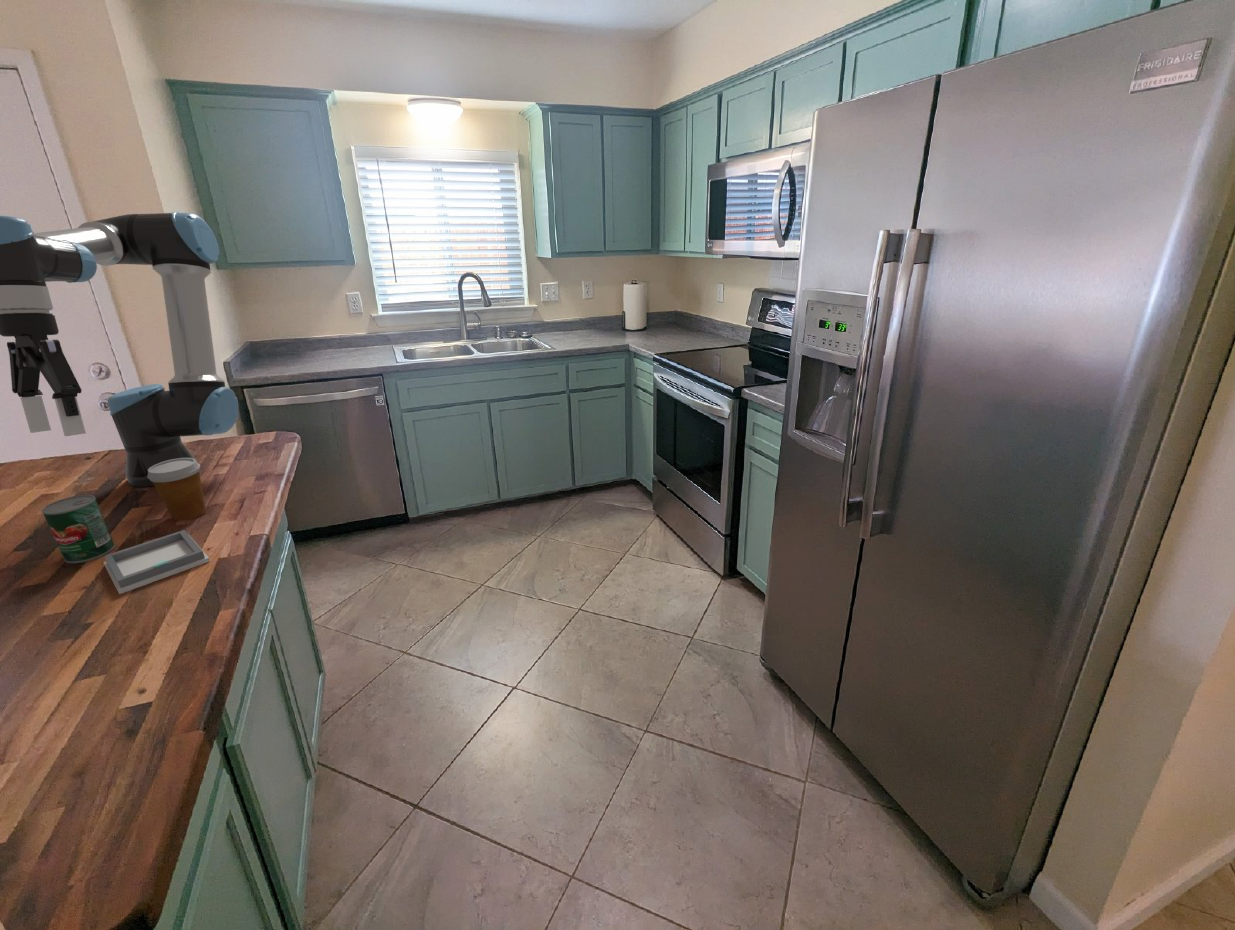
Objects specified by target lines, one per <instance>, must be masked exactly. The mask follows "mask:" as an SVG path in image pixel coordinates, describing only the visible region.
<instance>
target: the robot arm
mask: <svg viewBox="0 0 1235 930" xmlns="http://www.w3.org/2000/svg"><path fill="white" fill-rule="evenodd" d="M219 257H220V248H219V244H218V241H217V238H216V236H215V233H214V232H213V230H212V229H211V227H210V226H209V224H208V223H207V222H206V221H205V220H204V219H203V218H202V217H200V216H199V215H197V214H195V213H193V212H178V211H173V212H162V213H159V212H158V213H129V214H128V213H127V214H124V215H122V214H121V215H118V216H112V217H109V218H103V219H97V220H93V221H86V222H83V223H81V224H80V225H79V226H78V227H76V228H68V229H67V228H66V229H59V230H52V231H51V230H50V231H43V232H34V231H33V229H32V227H31V224H30V223H29V222H28V221H27V220H25V219H24V218H21V217H16V216H10V215H9V216H8V215H0V336H1V337H5V338H6V337H8V338H9V337H10V338H12V337H14V340H15V341H7V342H6V347H7V350H8V355H9V366H10V379H11V390H12V392H13V394H17V396H18V397H19V398H20V401H21V405H22V408H23V412H24V416H25V418H26V422H27V425H28V429H29V432H30V434H33V433H40V432H41V433H42V432H48V431H52V429H51V425H50V421H49V418H48V414H47V411H46V408H45V404H44V401H43V394H44V393H43V392H42V391H41V389H40V388H39V387H40V377H41V376H40V375H41V374H42V376H43V377H44V379H45V381H46V382H47V383H48V386H49V387H50V388H51V390H52V391H53V393H52V395H51V396H52V397H51V398H52V400H54V401H55V402H54V403H55V406H56V409H57V413H58V416H59V420H60V424H61V428H62V432H63V434H64V437H70V436H78V435H84V434H87V433H86V430H85V426H84V425H85V424H84V421H83V418H82V414H81V409H80V407H79V402H78V398H77V397H78V394H81V393H82V388H81V386H80V384H79V382H78V379H77V378H76V375H75V374H74V372H73V370H72V367H71V366H70V363H69V362H68V360H67V358H66V356H65V354H64V351H63V348H62V346H61V342H60V341H59V339H49V338H48V336H56V335H59V332H60V331H59V328H58V322H57V319H56V317H55V316H56V315H54V314H53V313H51V312H50V311H53V309H54V306H53V303H52V300H51V296H50V292H49V288H48V286H47V283H48V282H50V283H51V282H66V283H68V284H69V283H71V284H72V283H85V282H88V281H90V280H91V279H92V278H94V276H95V275H96V274H97V269H98V266H97V265H101V266H113V265H138V266H139V265H141V266H143V265H145V266H152V270H153V271H154V272H156V273H157V274H158V275H160V277H161V282H162V289H163V296H164V305H165V311H166V312H165V313H166V319H167V327H168V334H169V341H170V349H171V356H172V364H173V371H174V376H172V378H171V379H170V380H169V381H168V390H166V389H165V387H164V386H163V384H161V383H152V384H147V385H142V386H138V387H134V388H130V389H127V390H123V391H120V392H117V393H114V394H113V395H111V396H110V397H109V398H108V399H107V404H108V409H109V412H110V416H111V418H112V420H113V422H114V425H115V428H116V430H117V432H118V436H119V438H120V440H121V443H122V446H123V448H124V451H125V454H126V458H125V459H126V460H125V462H126V463H125V478H126V479H127V482H128V485H130V486H133V487H138V488H142V487H143V488H145V487H155V486H154V484H153V482H152V481H150V479H148V478H147V475H148V469H149V468H150V467H152V466H153V465H155V464H158V463H160V462H164V461H167V460H172V459H177V458H193V459H195V460H196V461H197V458H196V457H195V456H194V455H193V454H192V453H191V451H190V449H189V448H188V447H187V446H186V445H185V443H183V441H182V439H181V437H194V436H213V435H221V434H225V433H228V432H229V431H231V430H232V429H233V428H234V425H235V424H236V423H237V419H238V416H239V401H238V397H237V396H236V394H235V392H234V391H233V390H232V389H231V388H228V387H227V386H226V381H225V380H224V379H223V378H221V377H220V376H219V375H218V374H217V368H216V359H215V351H214V343H213V335H212V330H211V329H212V327H211V321H210V320H211V319H210V314H209V313H210V312H209V305H208V297H207V289H206V282H205V279H206V278H207V277H208V276H210V274H212V273H211V272H212V271H211V264H214V263H216V262H217V261H218V260H219ZM197 462H198V461H197Z"/></svg>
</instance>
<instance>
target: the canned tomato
mask: <svg viewBox="0 0 1235 930" xmlns="http://www.w3.org/2000/svg"><path fill="white" fill-rule="evenodd" d="M41 509H42V510H41V513H42V515H43V516H44V518H45V521H46V523H47V525H48V527H49V529H50V531H51V533H52V536H53V538H54V541H55V542H56V546H57V547H58V549H59V551H60V554H61V556H62V557H63V560H64V562H65V563H68V564H79V563H84V562H85V563H86V562H89V561H93V560H96V559H98V558H100V557H103V556H105V555H108V554H110V552H111V551H113V550H114V549H115V546H116V545H115V542H114V540H113V538H112V536H111V533H110V531H109V528H108V526H107V523H106V521H105V518H104V516H103V514H102V512H101V509H100V507H99V504H98V502H97V498H96V497H95V496H94V495H93V494H92V495H91V494H80V495H75V496H69V497H65V498H61V499H59V500H56V501H54V502H51V503H49V504H47V505H46V506H44V507H43V508H41Z"/></svg>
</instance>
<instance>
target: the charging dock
mask: <svg viewBox="0 0 1235 930" xmlns="http://www.w3.org/2000/svg"><path fill="white" fill-rule="evenodd" d="M103 556H104V559H105V561H104V562H103V566H104V567H105V570H106V572H107V573H108V575H109V577H110V579H111V581H112V583H113V585H114V587H115V589H116V590H117V592H118V594H119V595H122V594H125V593H128V592H130V591H133V590H135V589H138V588H141V587H144V586H146V585H149V584H152V583H154V582H157V581H159V580H162V579H165V578H168V577H170V576H171V577H172V576H173V575H176V574H179V573H182V572H185V571H187V570H190V569H192V568H195V567H198V566H201V565H205V564H206V563H209V562H211V561H210V558H209V556H208V555H207V554H206V553H205V552H204V550H203V549H202V548H201V547H200V546H199V545H198V544H197V542H196V541H195V540H194V539H193V538H192V537H191V535H190V534H188V532H187V531H186V530H185V529H182V530H179V531H177V532H173V533H170V534H167V535H164V536H161V537H158V538H155V539H152V540H149V541H145V542H143V543H140V544H136V545H133V546H131V547H127V548H124V549H120V550H119V551H115V552H112V553H107V554H105V555H103Z"/></svg>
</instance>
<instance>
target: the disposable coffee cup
mask: <svg viewBox="0 0 1235 930" xmlns="http://www.w3.org/2000/svg"><path fill="white" fill-rule="evenodd" d="M195 459H196V458H195ZM195 459H193V458H177V459H172V460H167V461H164V462H160V463H158V464H155V465H153V466H152V467H150V468H149V469H148V475H147V478H148V479H150V481H152V482H153V484H154V486H153V487H154V488H155V490H156V491H157V493H158V495H159V496H160V498H161V500H162V503H164V506H165V507H166V509H167V511H168V513H169V515H170V516H171V517H172V520H174V521H186V520H192V519H195V518H198V517H200V516H201V515H202V516H203V514H205V513H206V511H207V508H206V504H205V497H204V490H203V486H202V480H201V472H200V470H201V469H200V468H201V464H200V463H199V462H198V461H196V460H197V459H196V460H195Z"/></svg>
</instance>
